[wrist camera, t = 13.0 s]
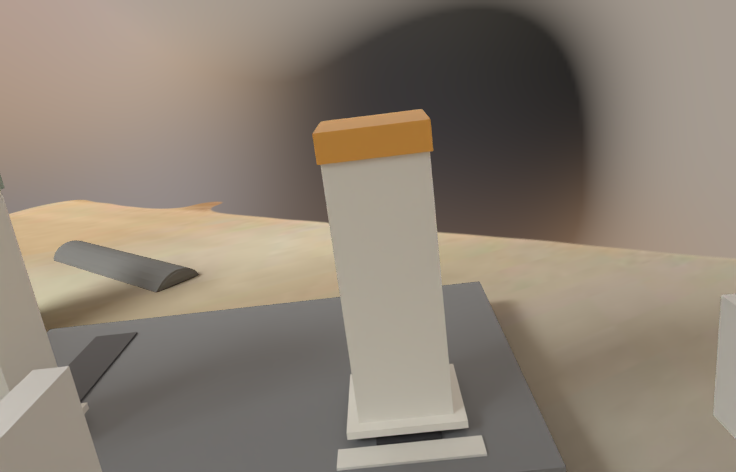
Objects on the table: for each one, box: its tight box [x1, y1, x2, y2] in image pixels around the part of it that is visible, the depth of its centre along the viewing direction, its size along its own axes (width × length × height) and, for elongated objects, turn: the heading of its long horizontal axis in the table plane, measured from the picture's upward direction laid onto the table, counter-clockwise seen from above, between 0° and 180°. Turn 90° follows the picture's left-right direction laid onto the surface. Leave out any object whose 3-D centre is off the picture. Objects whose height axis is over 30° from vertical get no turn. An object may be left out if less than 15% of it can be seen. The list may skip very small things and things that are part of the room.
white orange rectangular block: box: [313, 109, 469, 440], centre depth 21 cm, size 4×4×11 cm
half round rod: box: [54, 241, 198, 292], centre depth 52 cm, size 4×20×2 cm, turn 50°
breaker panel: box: [47, 282, 566, 472], centre depth 28 cm, size 16×26×2 cm, turn 90°
